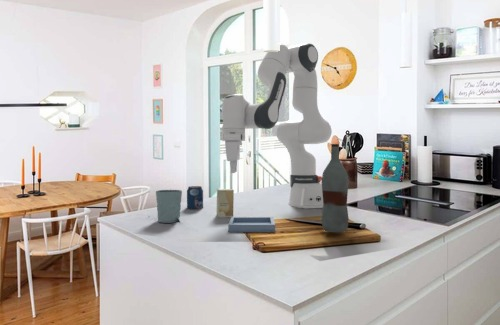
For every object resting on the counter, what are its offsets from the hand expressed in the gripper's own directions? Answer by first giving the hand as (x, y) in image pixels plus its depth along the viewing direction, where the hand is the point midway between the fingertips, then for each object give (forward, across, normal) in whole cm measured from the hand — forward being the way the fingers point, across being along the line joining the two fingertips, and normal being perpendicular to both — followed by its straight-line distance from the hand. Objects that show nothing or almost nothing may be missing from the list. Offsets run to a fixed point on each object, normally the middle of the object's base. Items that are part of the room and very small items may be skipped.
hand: (233, 172), depth 166 cm
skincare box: (+20, -7, -4) cm, 21 cm away
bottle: (+20, +15, +36) cm, 44 cm away
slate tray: (+19, +10, +7) cm, 23 cm away
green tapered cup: (+20, -4, -26) cm, 33 cm away
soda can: (+20, -20, -18) cm, 34 cm away
